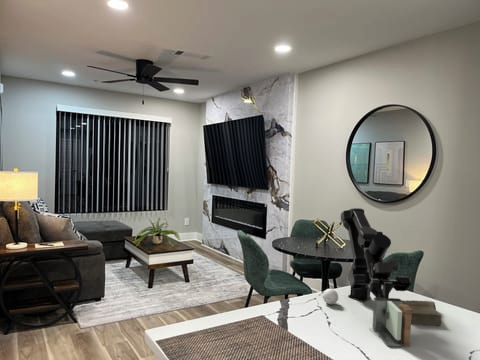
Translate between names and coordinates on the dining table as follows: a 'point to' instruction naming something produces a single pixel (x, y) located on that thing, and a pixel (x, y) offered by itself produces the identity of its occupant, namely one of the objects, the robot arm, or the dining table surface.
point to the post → (405, 324)
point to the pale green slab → (393, 320)
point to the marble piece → (424, 313)
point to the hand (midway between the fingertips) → (385, 307)
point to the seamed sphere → (330, 296)
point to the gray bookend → (384, 320)
